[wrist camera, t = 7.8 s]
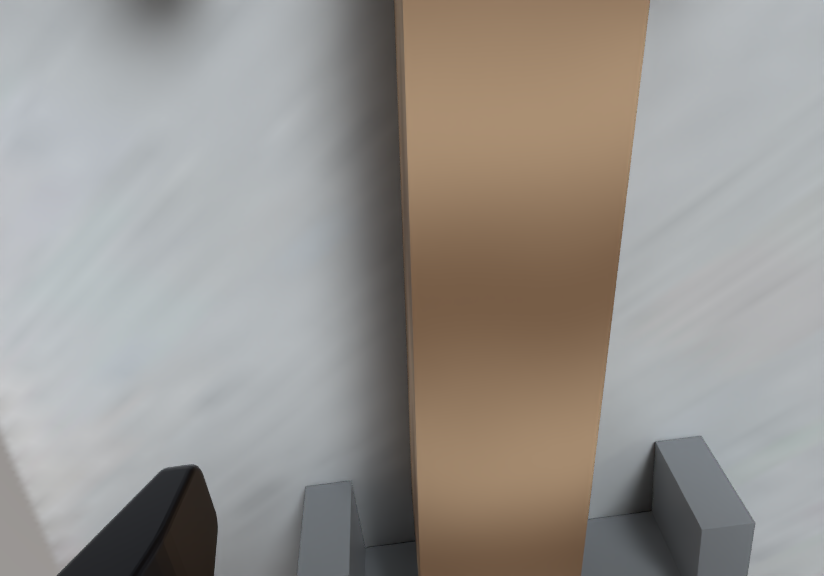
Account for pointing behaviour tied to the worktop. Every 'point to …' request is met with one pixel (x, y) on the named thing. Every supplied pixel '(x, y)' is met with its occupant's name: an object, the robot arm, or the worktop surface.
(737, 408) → the worktop surface
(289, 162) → the worktop surface
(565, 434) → the slat
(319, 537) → the end cap
